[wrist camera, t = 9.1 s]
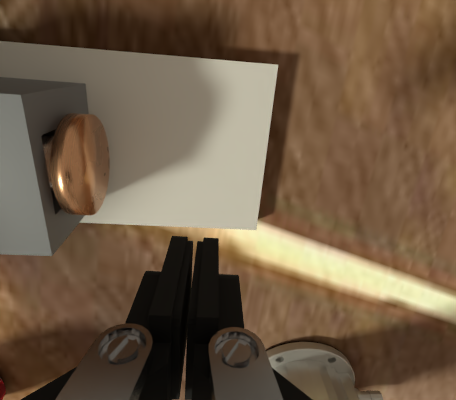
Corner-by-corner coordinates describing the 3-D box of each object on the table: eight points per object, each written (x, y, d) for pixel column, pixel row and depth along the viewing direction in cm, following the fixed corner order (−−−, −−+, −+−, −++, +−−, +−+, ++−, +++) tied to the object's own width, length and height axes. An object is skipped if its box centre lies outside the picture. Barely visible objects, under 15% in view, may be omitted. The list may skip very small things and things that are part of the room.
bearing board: (273, 64, 20) (312, 66, 13) (253, 220, 25) (272, 291, 18) (-165, 27, 18) (-444, 1, 11) (-94, 205, 23) (-248, 278, 15)
